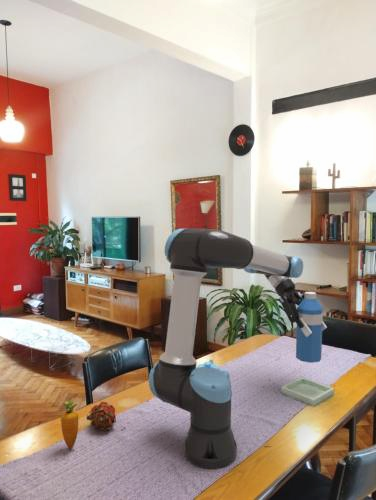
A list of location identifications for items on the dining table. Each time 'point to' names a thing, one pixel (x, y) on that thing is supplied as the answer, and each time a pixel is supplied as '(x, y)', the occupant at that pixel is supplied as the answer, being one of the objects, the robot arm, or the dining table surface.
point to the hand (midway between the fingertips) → (316, 331)
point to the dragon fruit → (102, 416)
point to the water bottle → (313, 317)
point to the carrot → (69, 424)
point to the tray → (307, 391)
